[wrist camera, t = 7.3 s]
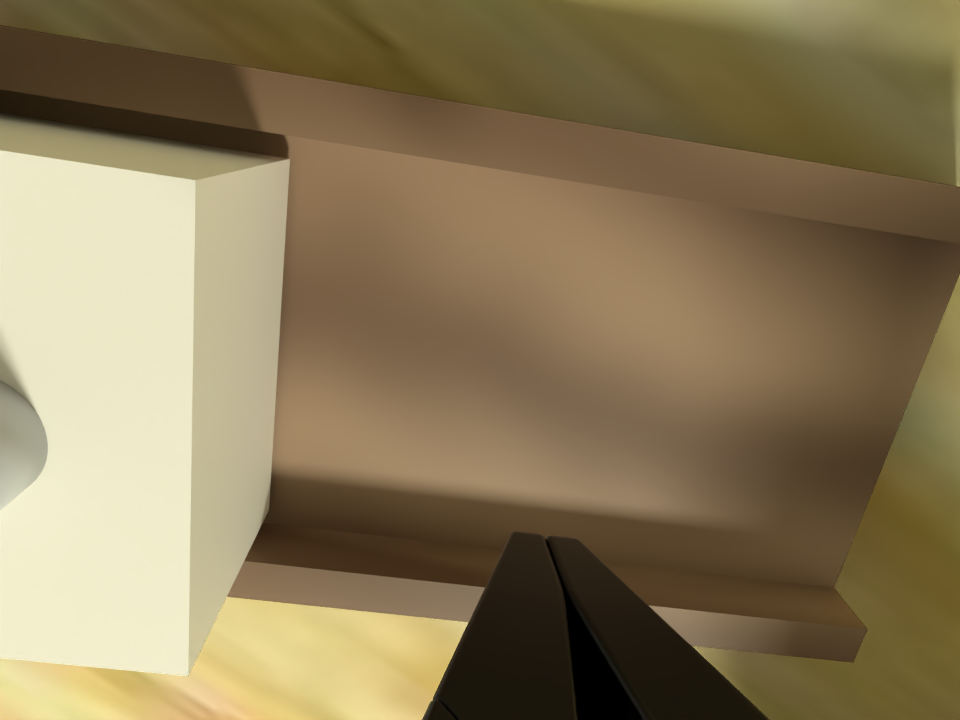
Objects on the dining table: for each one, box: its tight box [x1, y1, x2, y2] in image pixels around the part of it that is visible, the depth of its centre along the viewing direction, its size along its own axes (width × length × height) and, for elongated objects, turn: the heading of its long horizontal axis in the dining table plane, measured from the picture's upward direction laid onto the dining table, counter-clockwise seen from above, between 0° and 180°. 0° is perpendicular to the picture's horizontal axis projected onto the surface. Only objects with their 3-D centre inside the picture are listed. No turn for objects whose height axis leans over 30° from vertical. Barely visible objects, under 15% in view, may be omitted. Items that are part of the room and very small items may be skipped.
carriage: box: [0, 113, 290, 676], centre depth 11 cm, size 8×6×6 cm
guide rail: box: [0, 25, 960, 663], centre depth 13 cm, size 11×23×5 cm, turn 81°
